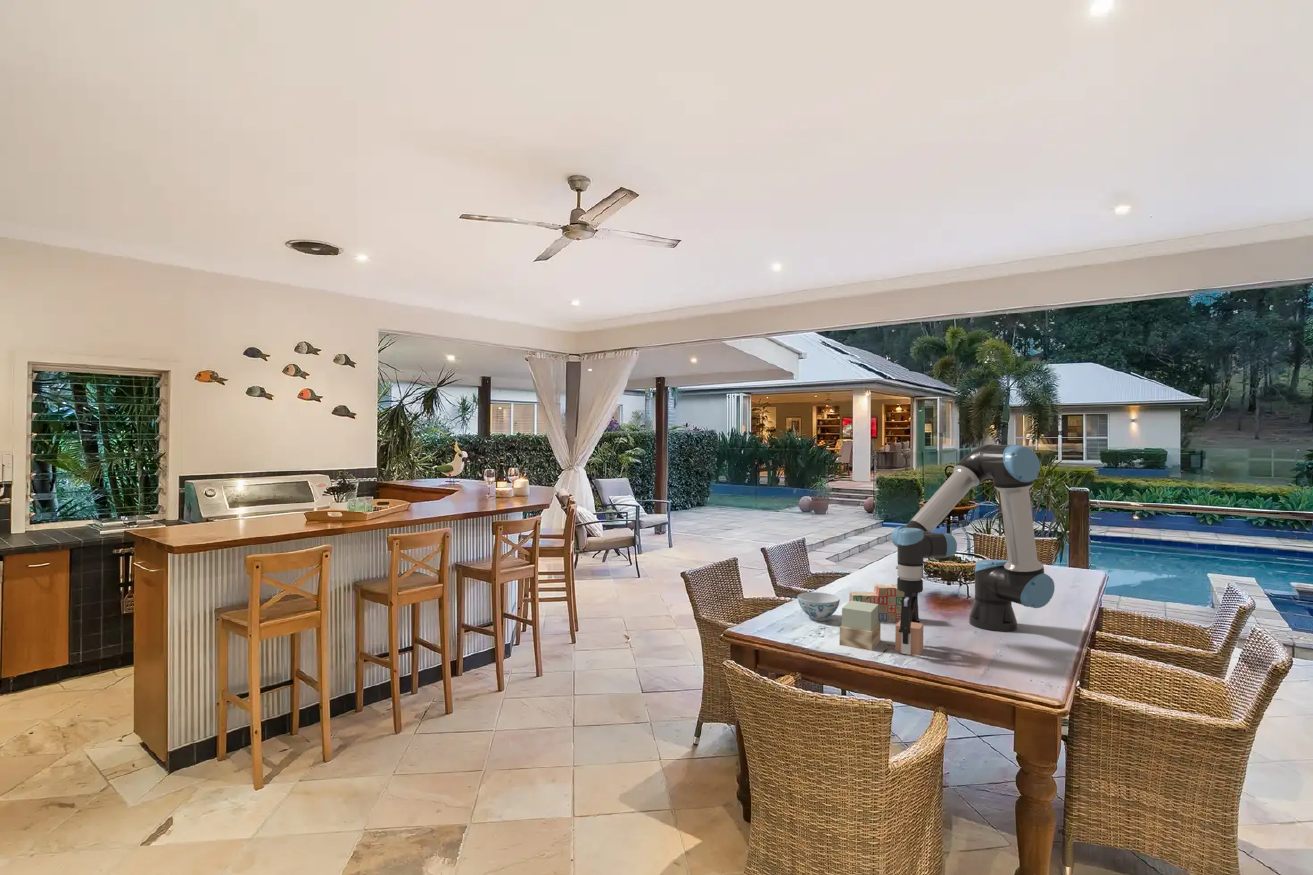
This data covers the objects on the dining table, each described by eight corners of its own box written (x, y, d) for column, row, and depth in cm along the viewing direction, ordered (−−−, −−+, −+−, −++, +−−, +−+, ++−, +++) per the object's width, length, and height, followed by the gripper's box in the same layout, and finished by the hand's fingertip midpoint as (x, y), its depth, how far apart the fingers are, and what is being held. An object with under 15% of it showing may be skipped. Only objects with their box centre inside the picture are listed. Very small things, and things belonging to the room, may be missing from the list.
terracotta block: (923, 648, 207) (923, 623, 207) (919, 655, 201) (919, 629, 201) (899, 645, 211) (900, 620, 211) (895, 651, 205) (895, 625, 205)
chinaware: (823, 611, 250) (823, 590, 250) (848, 621, 236) (848, 600, 236) (789, 614, 245) (789, 594, 245) (813, 626, 231) (813, 604, 231)
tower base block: (880, 640, 215) (880, 622, 215) (871, 651, 205) (871, 632, 205) (849, 635, 221) (849, 617, 220) (839, 645, 210) (839, 626, 210)
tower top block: (878, 622, 216) (878, 604, 215) (870, 631, 206) (870, 612, 206) (850, 618, 220) (850, 600, 220) (841, 626, 211) (842, 607, 211)
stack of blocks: (852, 620, 238) (852, 586, 238) (848, 615, 244) (849, 582, 244) (913, 622, 236) (913, 588, 236) (908, 617, 243) (908, 584, 242)
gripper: (904, 570, 217) (903, 637, 218) (889, 583, 198) (888, 657, 198) (928, 572, 213) (928, 641, 214) (916, 586, 194) (915, 661, 194)
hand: (909, 648), depth 206 cm, fingers open, 10 cm apart
